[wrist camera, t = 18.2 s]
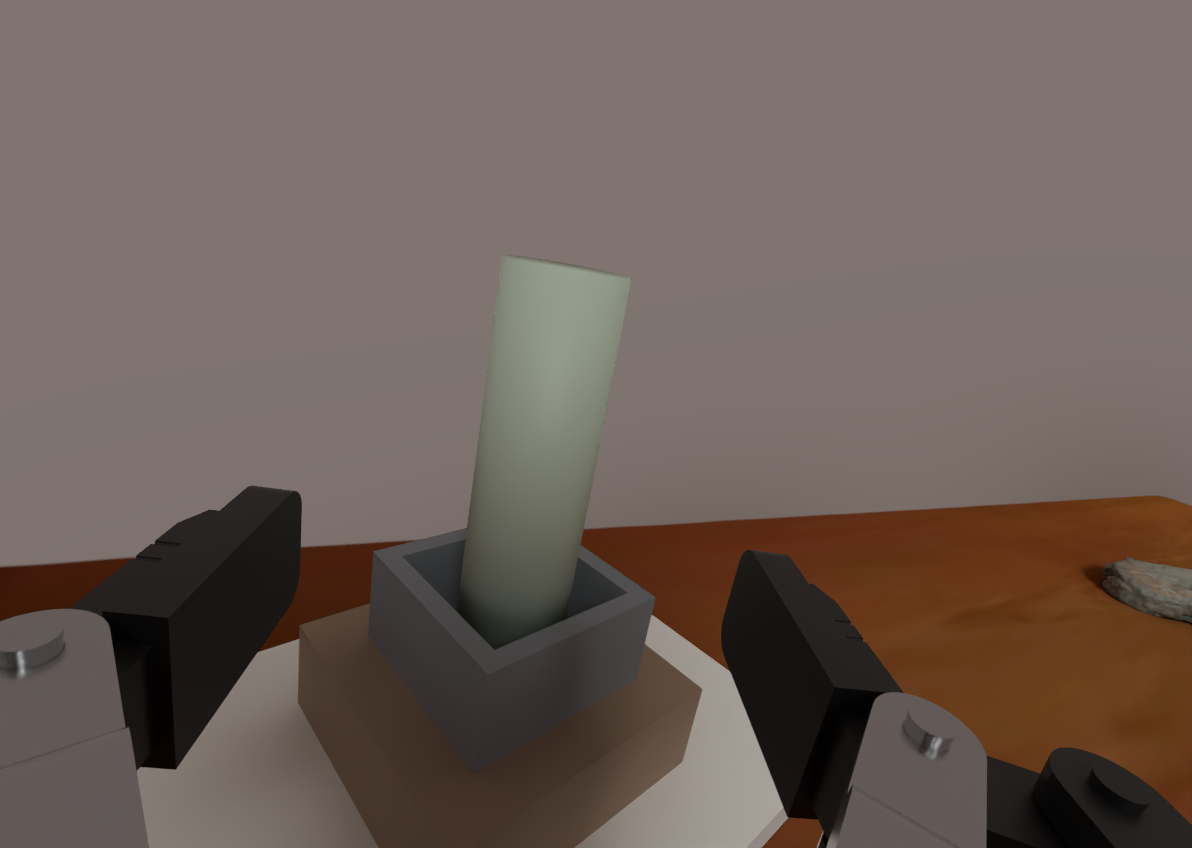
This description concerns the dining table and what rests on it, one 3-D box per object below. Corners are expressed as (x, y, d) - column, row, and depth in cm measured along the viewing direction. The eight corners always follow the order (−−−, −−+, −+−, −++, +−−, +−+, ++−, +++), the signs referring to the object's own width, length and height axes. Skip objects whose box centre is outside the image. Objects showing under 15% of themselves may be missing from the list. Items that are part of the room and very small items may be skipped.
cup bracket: (202, 1478, 11) (181, 1194, 8) (77, 741, 24) (53, 533, 21) (827, 773, 29) (889, 608, 26) (562, 570, 42) (584, 445, 39)
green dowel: (490, 714, 22) (559, 271, 17) (430, 645, 25) (476, 250, 20) (578, 670, 25) (658, 284, 20) (516, 613, 28) (573, 263, 23)
